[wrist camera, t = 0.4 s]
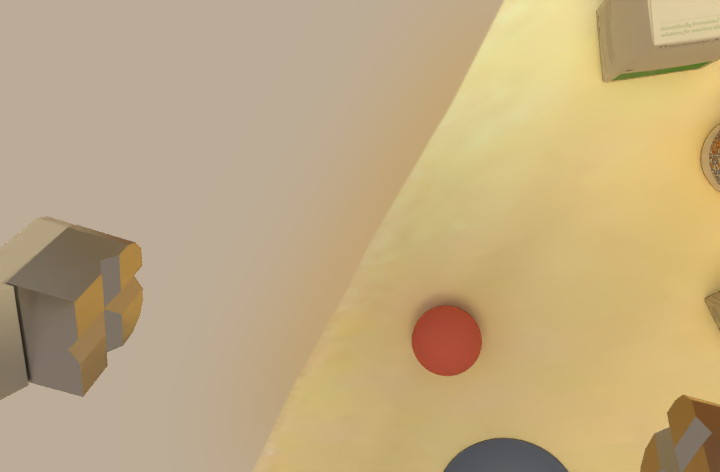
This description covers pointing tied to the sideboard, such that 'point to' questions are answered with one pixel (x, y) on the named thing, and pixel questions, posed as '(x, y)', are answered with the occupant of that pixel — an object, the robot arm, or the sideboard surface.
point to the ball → (446, 340)
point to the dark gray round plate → (504, 458)
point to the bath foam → (712, 158)
